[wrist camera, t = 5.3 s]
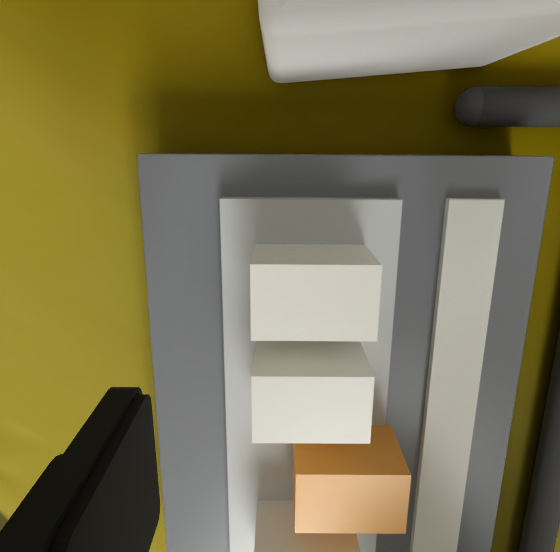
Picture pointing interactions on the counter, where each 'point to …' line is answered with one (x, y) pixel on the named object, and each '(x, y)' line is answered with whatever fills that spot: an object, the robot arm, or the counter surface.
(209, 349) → the breaker panel
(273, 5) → the medicine bottle
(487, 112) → the dark grey l-shaped rod
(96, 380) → the counter surface
